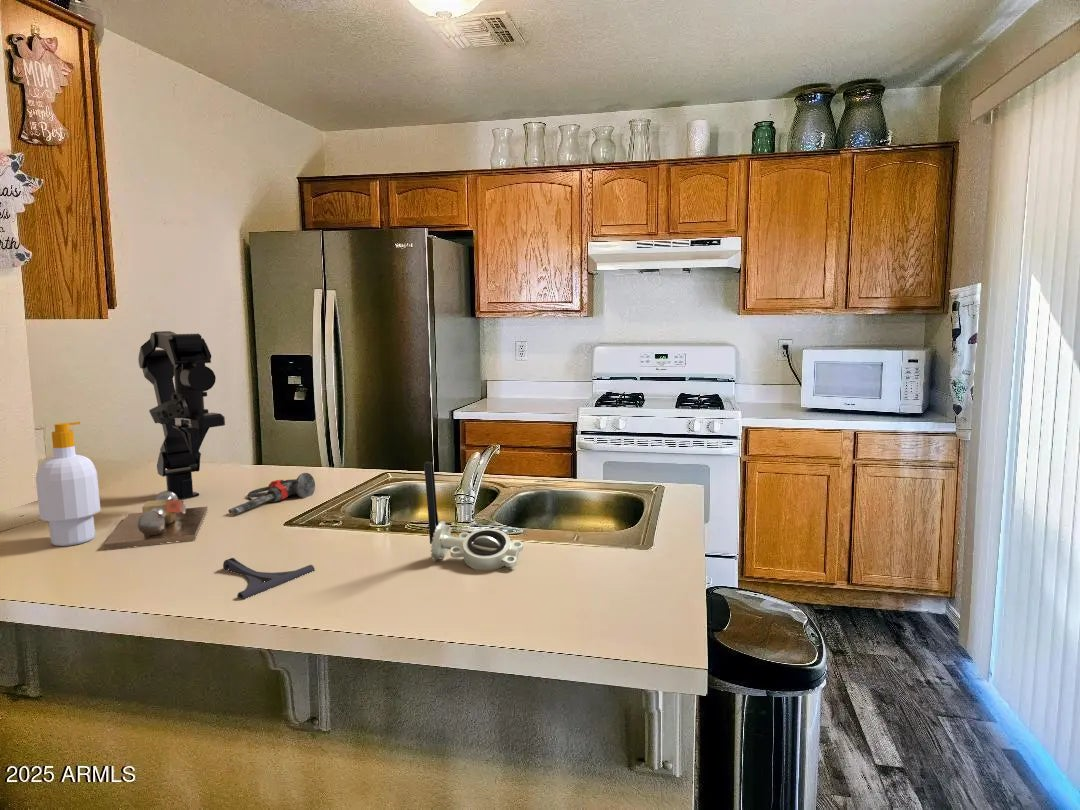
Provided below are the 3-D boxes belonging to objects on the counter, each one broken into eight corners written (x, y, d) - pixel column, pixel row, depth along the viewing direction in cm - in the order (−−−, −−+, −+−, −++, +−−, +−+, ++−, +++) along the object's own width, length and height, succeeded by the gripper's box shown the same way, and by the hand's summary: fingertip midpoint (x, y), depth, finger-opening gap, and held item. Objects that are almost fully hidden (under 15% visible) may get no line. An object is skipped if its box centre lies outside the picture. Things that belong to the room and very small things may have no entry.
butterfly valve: (526, 553, 130) (440, 539, 134) (525, 462, 121) (433, 450, 125) (513, 584, 122) (422, 567, 126) (511, 489, 113) (413, 475, 117)
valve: (282, 493, 185) (327, 490, 179) (204, 526, 161) (253, 523, 155) (277, 470, 184) (322, 466, 178) (198, 499, 160) (247, 496, 154)
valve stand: (129, 518, 155) (127, 492, 154) (207, 511, 160) (205, 485, 160) (104, 550, 135) (101, 519, 134) (195, 540, 140) (192, 510, 139)
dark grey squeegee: (261, 559, 131) (259, 545, 130) (315, 574, 123) (314, 559, 123) (189, 586, 118) (187, 570, 118) (244, 604, 111) (242, 587, 110)
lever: (176, 504, 149) (166, 500, 138) (188, 503, 150) (179, 499, 139) (176, 515, 149) (166, 512, 138) (189, 514, 150) (180, 511, 139)
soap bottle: (110, 540, 140) (98, 423, 137) (49, 553, 133) (36, 430, 130) (95, 529, 147) (84, 418, 144) (37, 541, 140) (24, 424, 137)
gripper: (133, 389, 158) (138, 455, 160) (174, 394, 147) (180, 465, 150) (181, 384, 167) (186, 448, 169) (224, 389, 156) (228, 456, 159)
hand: (194, 454), depth 161 cm, fingers closed
